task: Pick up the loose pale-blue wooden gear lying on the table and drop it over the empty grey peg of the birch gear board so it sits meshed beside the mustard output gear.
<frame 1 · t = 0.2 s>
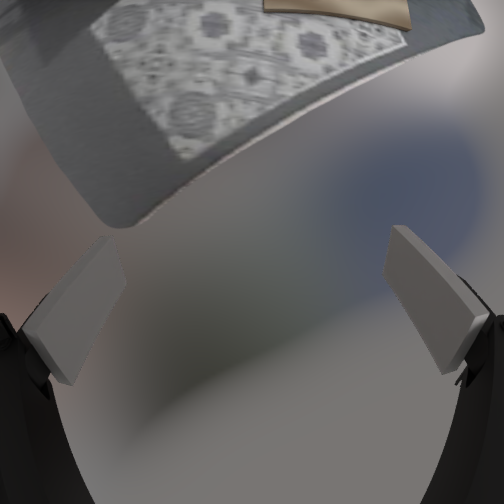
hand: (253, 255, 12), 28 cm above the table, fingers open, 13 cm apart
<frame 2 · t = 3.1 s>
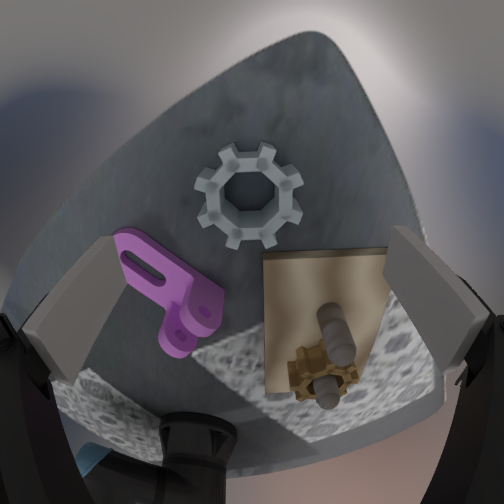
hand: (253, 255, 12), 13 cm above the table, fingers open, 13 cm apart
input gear: (249, 187, 24), on the table
gear board: (321, 330, 32), on the table
bracket: (161, 271, 28), on the table
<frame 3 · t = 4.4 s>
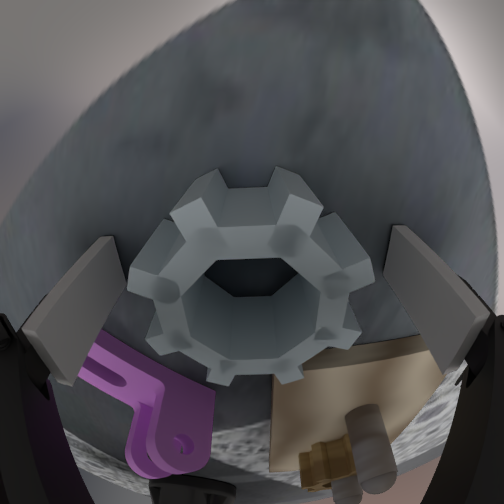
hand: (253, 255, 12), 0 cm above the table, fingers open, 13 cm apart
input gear: (250, 257, 12), on the table
gear board: (346, 420, 21), on the table
bracket: (120, 362, 17), on the table
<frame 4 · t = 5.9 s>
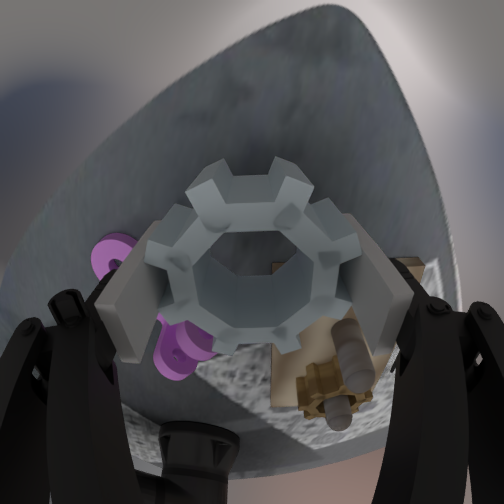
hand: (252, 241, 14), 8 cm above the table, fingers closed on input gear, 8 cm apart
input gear: (253, 238, 14), point 7 cm above the table, touching gripper
gear board: (334, 345, 28), on the table
bracket: (156, 280, 25), on the table
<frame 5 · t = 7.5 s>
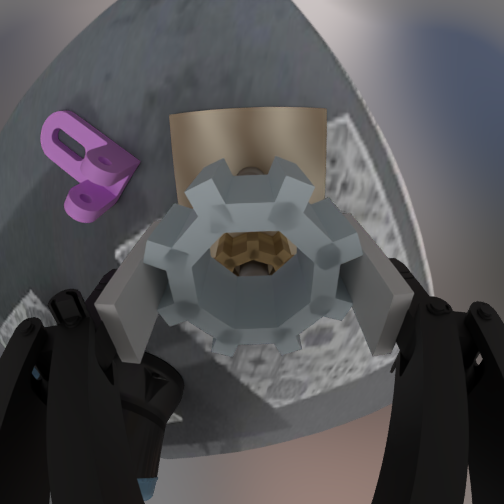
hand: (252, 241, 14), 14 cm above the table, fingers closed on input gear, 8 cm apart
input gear: (253, 238, 14), point 14 cm above the table, touching gripper
gear board: (252, 217, 28), on the table
bracket: (86, 150, 24), on the table
when the fingers open (4 cm above the table, at t = 9.3 s): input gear drops 2 cm, resting on gear board.
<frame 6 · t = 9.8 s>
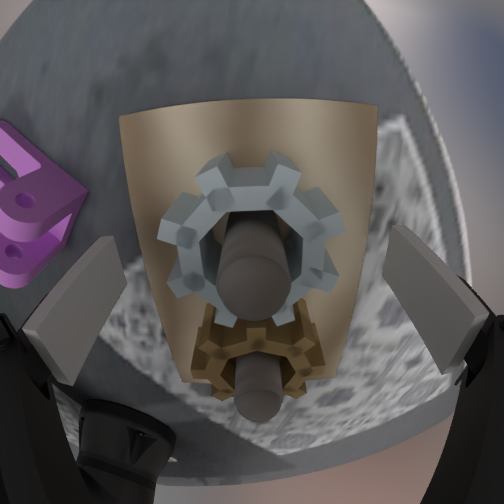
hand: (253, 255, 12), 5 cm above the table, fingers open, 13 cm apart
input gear: (251, 223, 16), point 1 cm above the table, touching gear board
gear board: (254, 271, 19), on the table
bracket: (24, 173, 15), on the table
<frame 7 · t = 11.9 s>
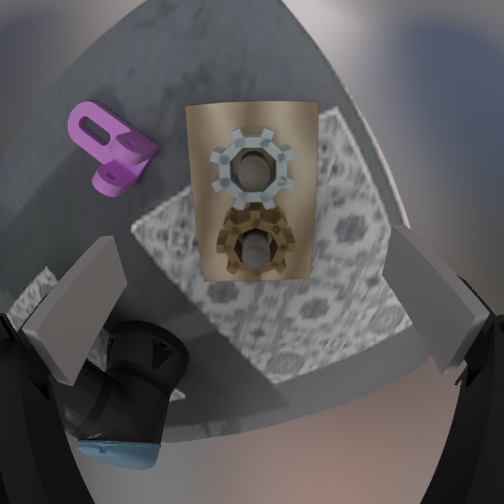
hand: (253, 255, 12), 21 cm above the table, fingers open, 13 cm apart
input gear: (253, 162, 29), point 1 cm above the table, touching gear board
gear board: (254, 195, 32), on the table
bracket: (110, 136, 29), on the table
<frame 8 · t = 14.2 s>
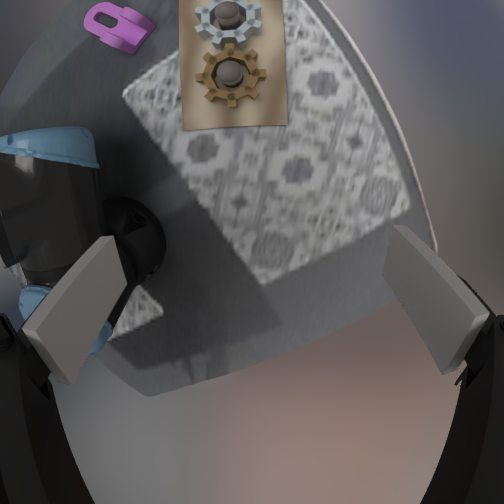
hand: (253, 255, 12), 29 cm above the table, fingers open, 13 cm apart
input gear: (230, 25, 27), point 1 cm above the table, touching gear board
gear board: (232, 53, 30), on the table
bracket: (117, 25, 27), on the table
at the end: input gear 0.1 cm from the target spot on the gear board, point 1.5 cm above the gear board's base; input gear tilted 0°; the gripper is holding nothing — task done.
